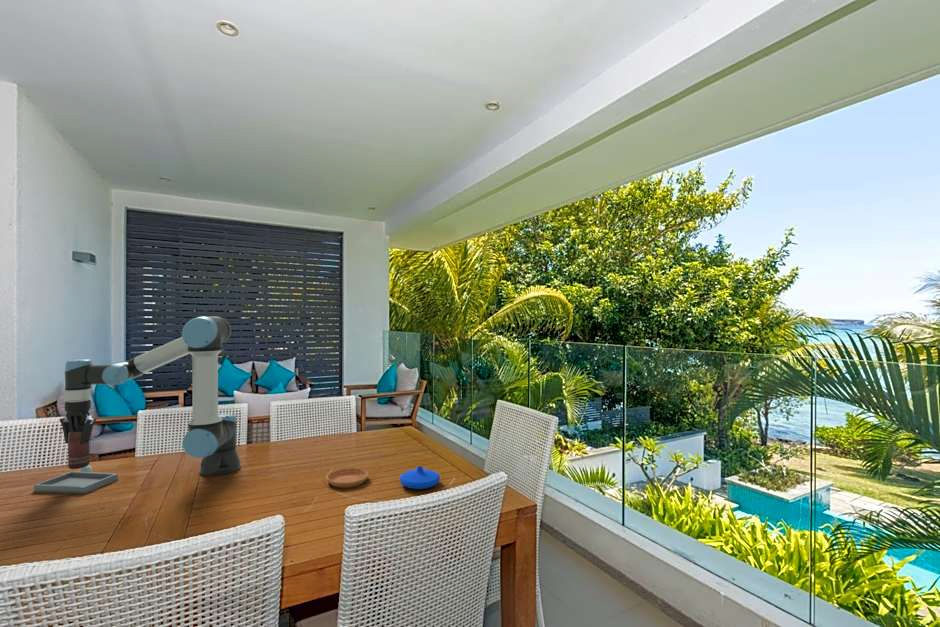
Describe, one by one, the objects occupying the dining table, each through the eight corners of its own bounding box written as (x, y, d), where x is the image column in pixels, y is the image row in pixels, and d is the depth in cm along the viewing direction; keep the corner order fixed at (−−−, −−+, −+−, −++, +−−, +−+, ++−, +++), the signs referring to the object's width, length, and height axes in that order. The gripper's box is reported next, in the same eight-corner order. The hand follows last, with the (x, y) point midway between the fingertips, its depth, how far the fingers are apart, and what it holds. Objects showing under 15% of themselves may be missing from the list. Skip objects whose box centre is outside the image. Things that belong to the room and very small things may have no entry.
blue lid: (407, 496, 162) (407, 477, 162) (394, 481, 176) (394, 464, 176) (446, 488, 170) (446, 470, 170) (430, 475, 184) (431, 458, 184)
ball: (94, 472, 182) (94, 464, 182) (85, 476, 179) (85, 467, 179) (86, 472, 183) (86, 463, 183) (77, 475, 179) (77, 466, 179)
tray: (117, 480, 175) (117, 473, 175) (83, 494, 161) (83, 487, 161) (71, 477, 177) (71, 471, 177) (34, 491, 163) (34, 484, 163)
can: (63, 469, 167) (62, 432, 167) (80, 463, 173) (80, 427, 173) (76, 470, 166) (75, 433, 166) (93, 464, 172) (93, 428, 172)
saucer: (375, 477, 181) (375, 470, 181) (353, 492, 166) (353, 484, 166) (342, 472, 186) (342, 465, 186) (317, 486, 171) (317, 479, 171)
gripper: (102, 398, 172) (101, 459, 172) (72, 397, 173) (71, 458, 173) (84, 402, 165) (83, 466, 165) (52, 401, 166) (51, 464, 166)
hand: (77, 461), depth 169 cm, fingers closed
